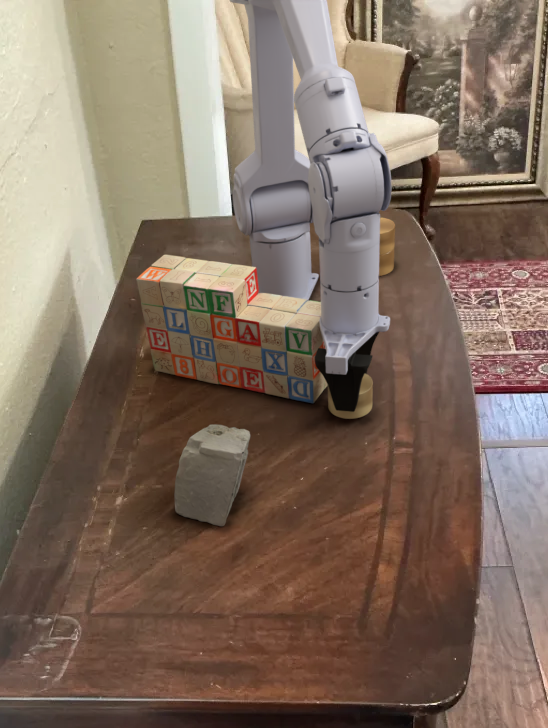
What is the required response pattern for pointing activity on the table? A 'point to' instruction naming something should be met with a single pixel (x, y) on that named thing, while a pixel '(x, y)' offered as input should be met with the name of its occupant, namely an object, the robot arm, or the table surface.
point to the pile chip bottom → (386, 263)
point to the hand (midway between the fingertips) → (350, 395)
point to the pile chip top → (386, 236)
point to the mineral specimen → (211, 473)
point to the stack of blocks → (230, 328)
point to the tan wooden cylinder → (363, 402)
